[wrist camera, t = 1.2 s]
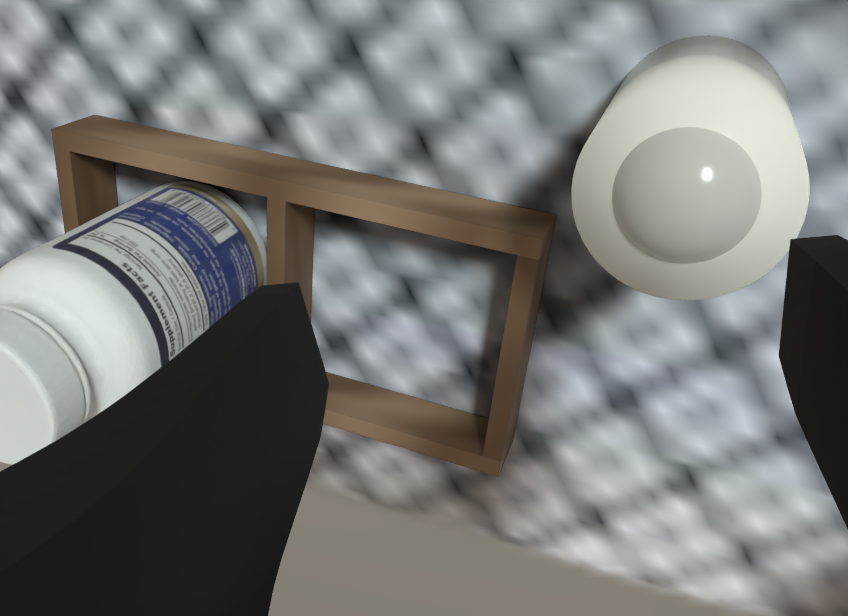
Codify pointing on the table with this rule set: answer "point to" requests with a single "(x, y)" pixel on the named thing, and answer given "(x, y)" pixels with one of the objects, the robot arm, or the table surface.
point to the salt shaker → (693, 172)
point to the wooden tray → (293, 260)
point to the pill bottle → (116, 306)
